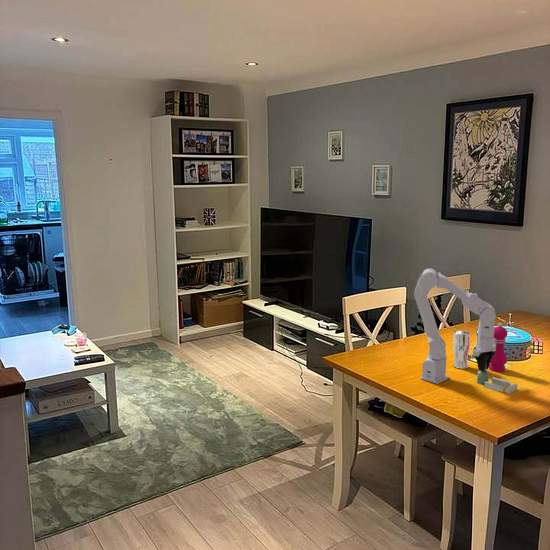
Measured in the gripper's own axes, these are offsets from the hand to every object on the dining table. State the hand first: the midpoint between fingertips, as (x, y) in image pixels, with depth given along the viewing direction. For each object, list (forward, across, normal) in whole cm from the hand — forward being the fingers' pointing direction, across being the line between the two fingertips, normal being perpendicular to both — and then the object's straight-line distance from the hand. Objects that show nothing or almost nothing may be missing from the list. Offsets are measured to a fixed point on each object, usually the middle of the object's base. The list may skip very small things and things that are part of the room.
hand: (483, 369), depth 213 cm
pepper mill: (+6, +18, +3) cm, 19 cm away
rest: (+5, 0, -7) cm, 9 cm away
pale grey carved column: (+6, +10, +15) cm, 19 cm away
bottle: (+5, 0, 0) cm, 5 cm away
